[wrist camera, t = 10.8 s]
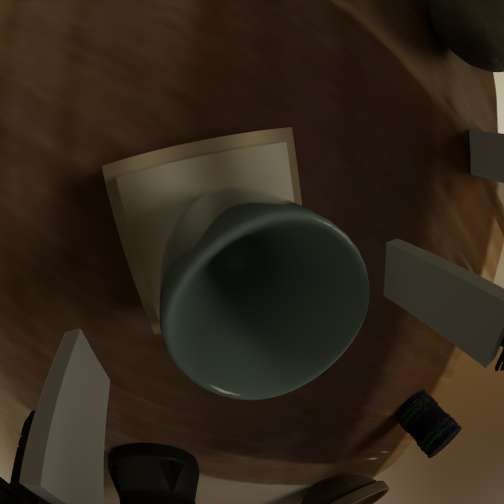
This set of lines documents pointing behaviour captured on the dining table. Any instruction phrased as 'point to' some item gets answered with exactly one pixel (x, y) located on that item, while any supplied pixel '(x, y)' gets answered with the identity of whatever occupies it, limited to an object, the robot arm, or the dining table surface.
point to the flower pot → (346, 490)
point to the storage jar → (427, 423)
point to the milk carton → (487, 155)
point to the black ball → (471, 30)
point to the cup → (258, 293)
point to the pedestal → (189, 192)
